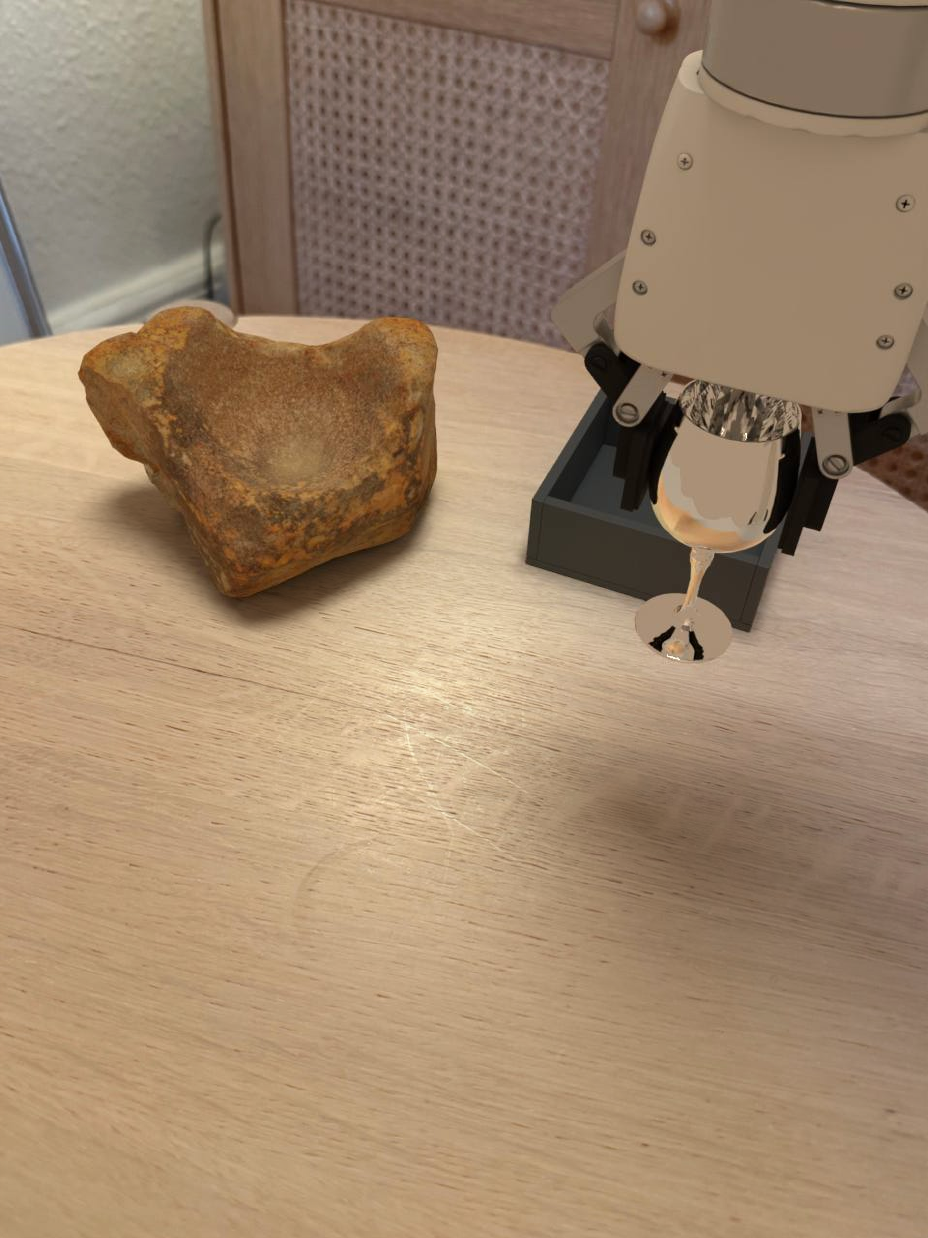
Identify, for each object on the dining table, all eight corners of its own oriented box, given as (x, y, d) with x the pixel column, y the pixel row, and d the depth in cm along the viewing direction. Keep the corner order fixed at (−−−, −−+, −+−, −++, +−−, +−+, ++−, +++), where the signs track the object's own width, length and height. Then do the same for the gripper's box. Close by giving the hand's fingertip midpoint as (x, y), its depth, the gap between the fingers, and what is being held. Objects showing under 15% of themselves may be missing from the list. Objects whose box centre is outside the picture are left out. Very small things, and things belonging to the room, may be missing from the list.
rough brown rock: (93, 645, 68) (43, 466, 57) (112, 468, 79) (72, 287, 67) (457, 625, 72) (478, 453, 60) (428, 458, 82) (441, 285, 71)
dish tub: (795, 496, 80) (815, 433, 76) (749, 632, 70) (769, 568, 66) (596, 441, 84) (605, 379, 80) (525, 563, 74) (531, 498, 70)
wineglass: (702, 695, 47) (768, 472, 38) (595, 629, 49) (633, 407, 41) (770, 625, 50) (844, 405, 41) (665, 567, 52) (715, 349, 44)
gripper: (1142, 48, 32) (934, 514, 45) (592, -34, 36) (544, 415, 49) (1155, 136, 27) (918, 632, 40) (517, 29, 32) (486, 510, 44)
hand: (713, 509), depth 45 cm, fingers closed on wineglass, 5 cm apart
